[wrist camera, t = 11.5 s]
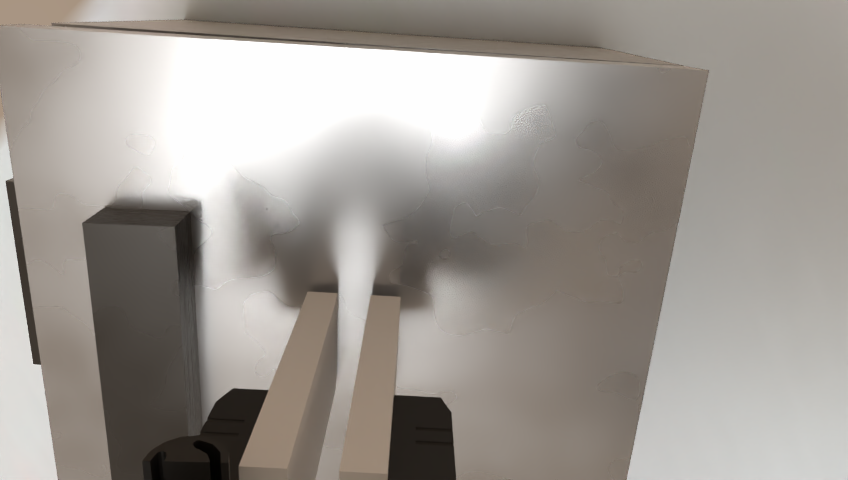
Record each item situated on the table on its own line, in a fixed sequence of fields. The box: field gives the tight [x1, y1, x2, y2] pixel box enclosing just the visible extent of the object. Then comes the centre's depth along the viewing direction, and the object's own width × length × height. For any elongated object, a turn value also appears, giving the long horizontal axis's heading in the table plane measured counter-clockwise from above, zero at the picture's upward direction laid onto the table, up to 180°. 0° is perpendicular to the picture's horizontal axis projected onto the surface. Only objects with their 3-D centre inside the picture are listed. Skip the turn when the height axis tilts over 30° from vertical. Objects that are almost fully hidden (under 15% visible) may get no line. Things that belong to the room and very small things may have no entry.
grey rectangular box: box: [6, 20, 683, 365], centre depth 23 cm, size 18×15×9 cm
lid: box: [0, 24, 709, 480], centre depth 17 cm, size 16×15×2 cm
